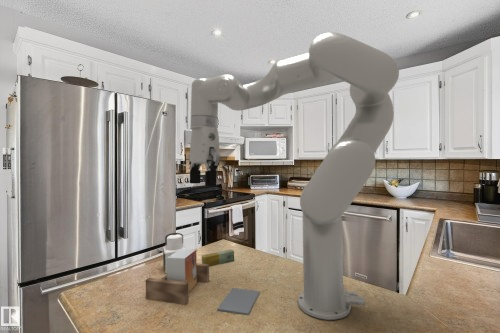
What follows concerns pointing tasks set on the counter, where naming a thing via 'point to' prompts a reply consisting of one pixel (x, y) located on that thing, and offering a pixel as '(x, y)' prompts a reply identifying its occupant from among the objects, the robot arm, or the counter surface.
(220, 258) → the medication box
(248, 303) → the mat
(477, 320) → the counter surface
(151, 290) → the nook
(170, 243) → the medicine bottle
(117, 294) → the counter surface
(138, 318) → the counter surface
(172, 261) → the small box
